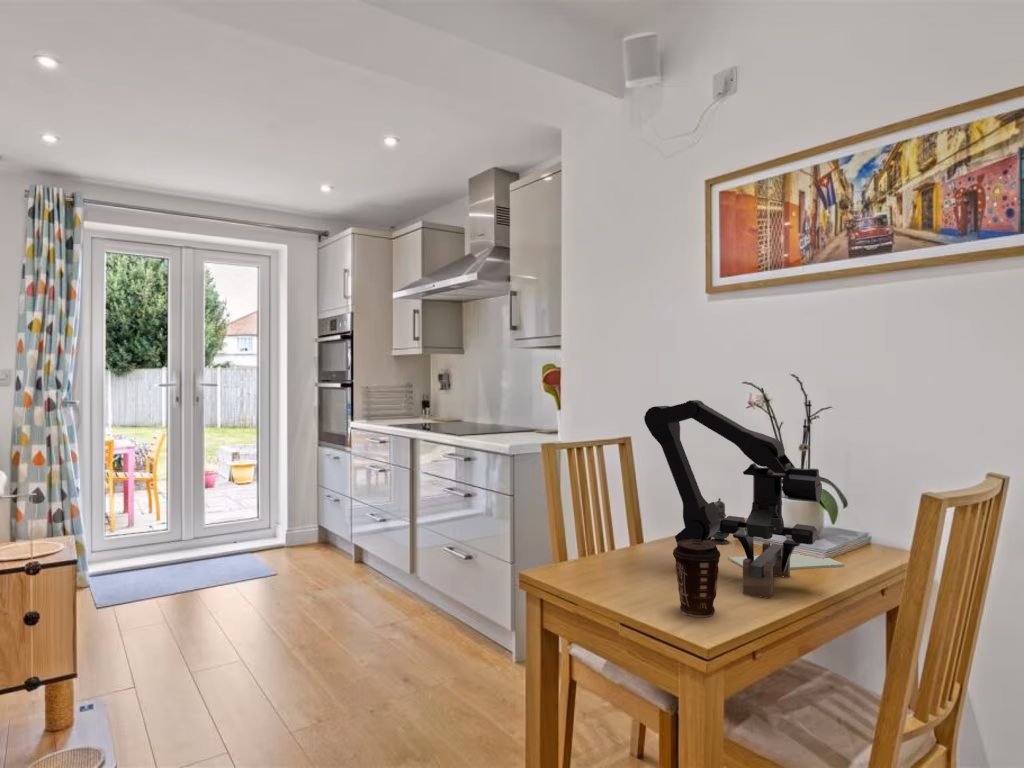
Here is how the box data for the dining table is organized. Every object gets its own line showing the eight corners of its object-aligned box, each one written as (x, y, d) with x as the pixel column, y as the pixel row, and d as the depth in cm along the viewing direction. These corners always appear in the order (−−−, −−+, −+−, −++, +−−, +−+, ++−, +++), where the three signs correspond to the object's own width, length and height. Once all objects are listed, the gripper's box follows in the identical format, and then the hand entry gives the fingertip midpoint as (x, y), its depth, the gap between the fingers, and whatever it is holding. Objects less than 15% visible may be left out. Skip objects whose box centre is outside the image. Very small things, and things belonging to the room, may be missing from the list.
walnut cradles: (770, 598, 126) (770, 565, 126) (742, 593, 129) (742, 560, 129) (789, 575, 140) (789, 545, 140) (764, 571, 144) (764, 541, 143)
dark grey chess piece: (727, 539, 172) (727, 496, 172) (733, 545, 166) (733, 500, 166) (706, 539, 173) (706, 495, 172) (710, 544, 167) (710, 499, 167)
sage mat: (750, 571, 143) (750, 569, 143) (728, 559, 153) (728, 557, 153) (844, 566, 147) (844, 564, 147) (816, 554, 157) (816, 552, 157)
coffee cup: (698, 600, 125) (698, 535, 125) (730, 614, 118) (730, 545, 117) (664, 608, 121) (664, 541, 121) (696, 623, 113) (696, 551, 113)
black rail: (761, 578, 126) (761, 566, 126) (749, 576, 127) (749, 564, 127) (783, 555, 142) (783, 545, 142) (772, 554, 143) (772, 543, 143)
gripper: (712, 498, 133) (712, 571, 133) (807, 508, 122) (807, 587, 123) (727, 490, 142) (727, 558, 143) (817, 499, 132) (817, 573, 132)
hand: (767, 569), depth 135 cm, fingers open, 6 cm apart
